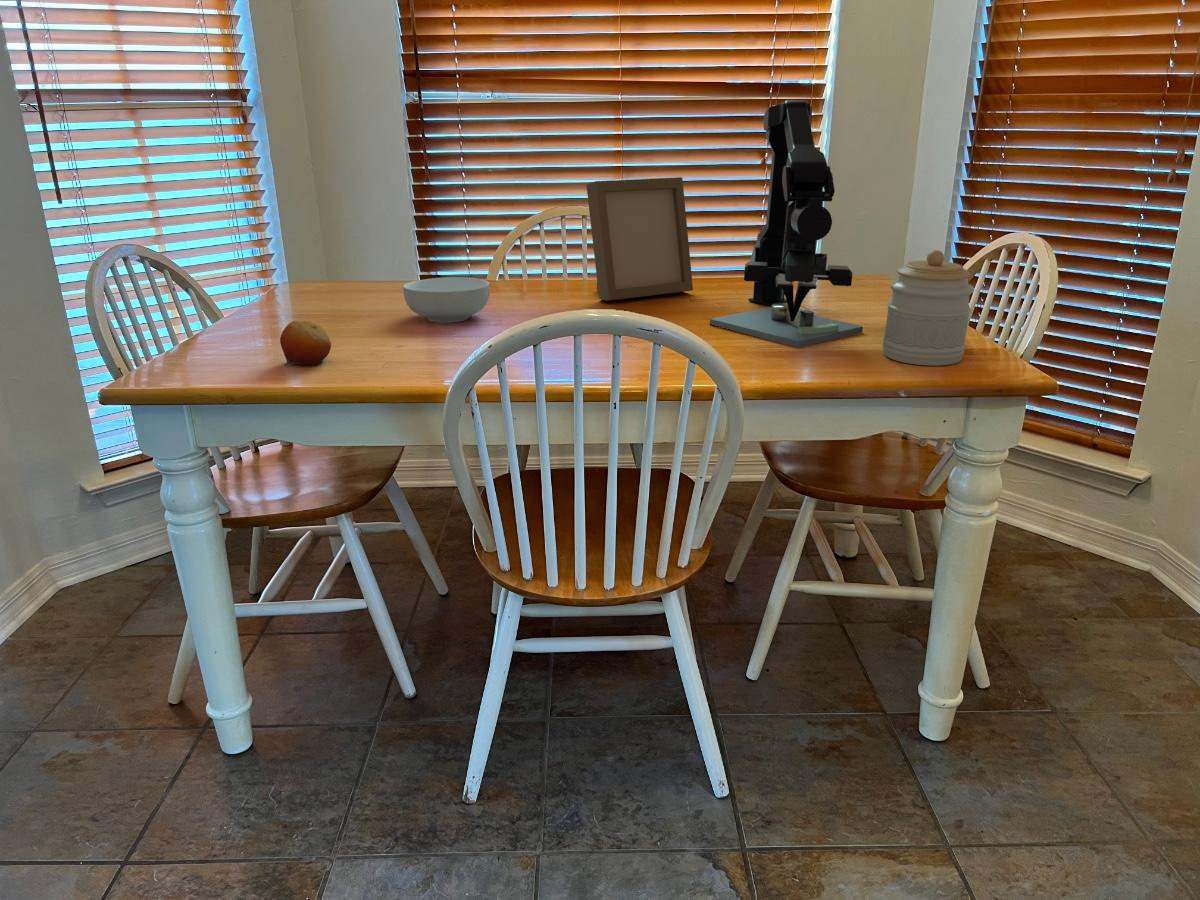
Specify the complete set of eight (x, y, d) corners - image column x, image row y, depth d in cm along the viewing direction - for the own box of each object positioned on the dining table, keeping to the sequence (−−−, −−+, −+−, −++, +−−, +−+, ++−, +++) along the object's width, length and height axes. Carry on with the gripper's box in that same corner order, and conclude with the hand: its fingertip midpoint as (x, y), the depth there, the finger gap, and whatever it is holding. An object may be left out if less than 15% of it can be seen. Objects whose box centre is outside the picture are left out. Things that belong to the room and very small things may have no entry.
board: (773, 312, 177) (773, 301, 176) (862, 332, 161) (863, 320, 160) (709, 324, 167) (710, 313, 166) (798, 347, 150) (799, 335, 150)
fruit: (277, 349, 145) (297, 308, 143) (321, 371, 147) (341, 331, 145) (264, 361, 138) (284, 319, 136) (310, 385, 140) (331, 343, 138)
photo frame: (692, 294, 194) (697, 178, 185) (609, 304, 184) (609, 183, 175) (657, 284, 206) (659, 174, 197) (576, 293, 196) (575, 178, 187)
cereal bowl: (506, 313, 177) (505, 279, 174) (461, 331, 162) (459, 294, 160) (437, 306, 183) (435, 273, 181) (388, 323, 169) (385, 287, 167)
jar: (980, 363, 141) (998, 254, 134) (911, 370, 138) (927, 258, 131) (930, 344, 153) (944, 242, 146) (866, 350, 149) (878, 246, 143)
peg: (766, 316, 167) (767, 299, 166) (790, 314, 169) (791, 298, 167) (795, 330, 156) (797, 313, 155) (820, 329, 157) (822, 311, 156)
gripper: (747, 236, 146) (740, 327, 152) (860, 241, 143) (849, 333, 149) (747, 229, 156) (740, 315, 162) (853, 234, 154) (843, 320, 159)
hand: (792, 321), depth 158 cm, fingers closed
